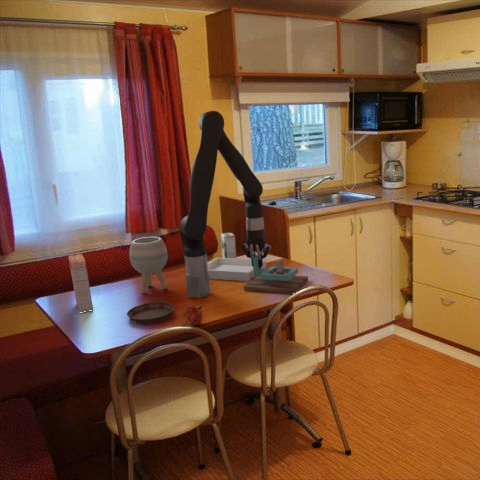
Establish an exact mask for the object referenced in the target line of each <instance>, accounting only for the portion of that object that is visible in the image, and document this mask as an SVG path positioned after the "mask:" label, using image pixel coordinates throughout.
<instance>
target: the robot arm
mask: <svg viewBox="0 0 480 480" xmlns="http://www.w3.org/2000/svg"><path fill="white" fill-rule="evenodd" d="M198 127H199V129H200V130H201V135H200V143H199V148H198V150H197V152H196V155H195V157H194V161H193V163H192V164H193V165H192V168H191V173H190V179H189V193H190V194H189V198H190V206H189V211H188V214H187V215H186V216H184V217H183V218H182V219H181V221H180V222H179V223H180V225H179V230H180V239H181V240H180V241H181V247H182V250H183V257H184V265H185V266H184V267H185V282H186V293H187V298H196V299H202V298H204V297H207V296H210V294H211V285H210V279H209V273H208V263H209V262H208V254H207V253H208V251H207V246H206V243H205V241H204V236H205V234H206V231H207V223H208V211H209V206H210V205H209V204H210V201H211V195H212V191H213V185H214V180H215V173H216V168H217V162H218V161H217V160H218V152H219V154H220V155H221V157H222V159H223V160H224V162H225V163H226V165H227V166H228V168H229V169H230V171H231V173H232V175H233V176H234V177H235V178H236V180H238V181H239V183H240V184H241V186H242V193H243V199H244V204H245V205H244V206H245V219H246V220H245V226H246V227H245V230H246V242H245V243H243V244H242V245H241V249H242V251H243V253H244V254H245V256H246V257H247V259H251V261H252V266H253V257H254V256H255V255H258V259H259V260H258V266H259V268H261V267H262V266H263V260H265V259H266V258H267V256H268V255H269V253H270V251H271V249H272V245H271V244H267V242H266V240H265V238H266V237H265V221H264V212H263V211H264V210H263V205H262V203H261V199H260V198H261V195H262V194H263V193H264V191H263V190H264V188H263V184H262V183H261V181H260V180H259V178H257V176H256V175H255V174H254V172H253V171H252V169H251V168H250V166H249V164H248V163H247V161H246V159H245V158H244V156H243V155H242V154H241V153H240V151H239V150H238V149H237V147H236V146H235V145H234V144H233V142H232V141H231V140H230V139H229V137H228V136H227V133H226V132H225V130H224V128H225V119H224V117H223V115H222V113H220V112H219V111H216V110H209V111H205V112H203V113H202V114H201V115H200V116H199V119H198ZM264 249H265V250H264Z"/></svg>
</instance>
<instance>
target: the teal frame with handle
mask: <svg viewBox="0 0 480 480" xmlns="http://www.w3.org/2000/svg"><path fill="white" fill-rule="evenodd" d="M258 260H259V259H258V255H257V254H256V255H255V256H254V257H253V269H254V275H255V276H256V277H257V276H261V279H267V280H281V281H289V280H290V279H291V278H292V277H294V276H297V274H298V273H299V268H298V267H286V266H283V267H284V274H277V270H276V266H270V267H269V268H266V269H262V267H261V268H259V266H258Z"/></svg>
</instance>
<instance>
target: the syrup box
mask: <svg viewBox="0 0 480 480" xmlns="http://www.w3.org/2000/svg"><path fill="white" fill-rule="evenodd" d="M220 239H221V251H222V253H221V254H222V255H221V256H222V258H234V259H237V251H236V250H237V249H236V236H235V234H233V233H232V232H224V233H221V234H220Z"/></svg>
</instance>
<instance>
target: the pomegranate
mask: <svg viewBox="0 0 480 480" xmlns="http://www.w3.org/2000/svg"><path fill="white" fill-rule="evenodd" d="M203 308H204V306H203V305H200V306H199V307H197V306H195V305H192V306H191V305H189V306H187V307H186V308H185V310H184V311H183V313H182V316H183V317H185V319H187V321H185V323H184V324H183V325H182V327H185V325H186V324H188V322H189V323H191V324H192V325H193V326H194V327H195V326H199V325H200V324H202V323H201V322H202V321H203V318H204V314H203V312H202V310H201V309H203Z"/></svg>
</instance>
